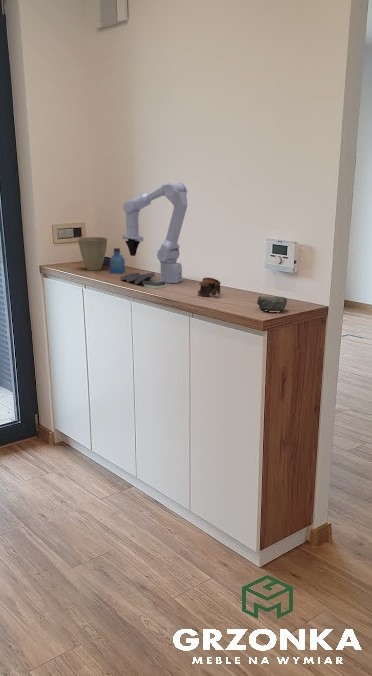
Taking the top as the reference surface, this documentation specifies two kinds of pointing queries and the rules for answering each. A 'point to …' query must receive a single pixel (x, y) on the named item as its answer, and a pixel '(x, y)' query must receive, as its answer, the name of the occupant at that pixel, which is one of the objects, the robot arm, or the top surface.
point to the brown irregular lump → (209, 287)
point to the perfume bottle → (117, 262)
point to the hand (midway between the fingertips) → (133, 255)
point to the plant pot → (93, 251)
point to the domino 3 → (144, 278)
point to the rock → (272, 303)
